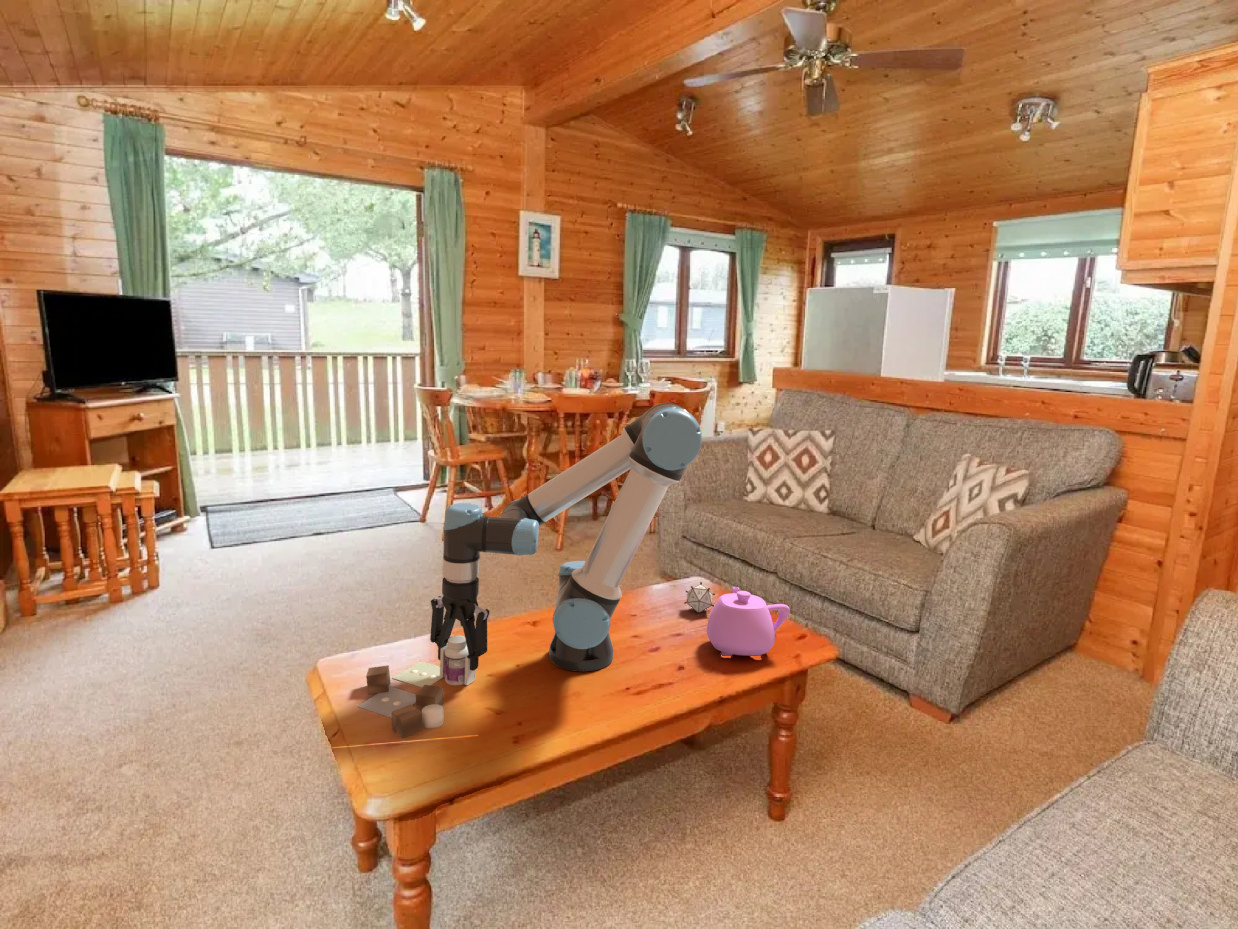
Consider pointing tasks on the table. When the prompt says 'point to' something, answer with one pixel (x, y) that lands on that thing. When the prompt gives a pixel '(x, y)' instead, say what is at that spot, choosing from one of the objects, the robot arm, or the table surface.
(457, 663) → the pill bottle
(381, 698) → the pad two
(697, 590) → the game die
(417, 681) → the pad three
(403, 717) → the cube
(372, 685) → the cube
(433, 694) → the cube
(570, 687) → the table surface
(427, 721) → the white cap
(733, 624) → the teapot
